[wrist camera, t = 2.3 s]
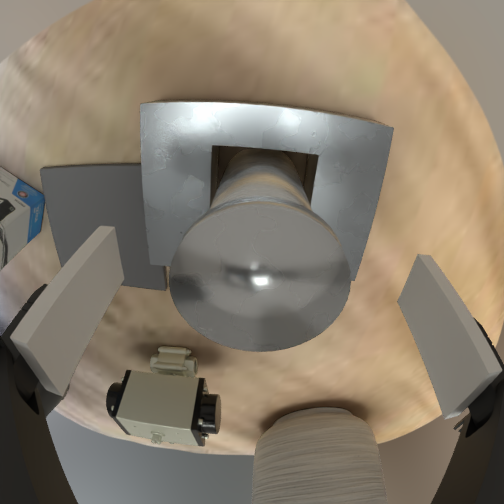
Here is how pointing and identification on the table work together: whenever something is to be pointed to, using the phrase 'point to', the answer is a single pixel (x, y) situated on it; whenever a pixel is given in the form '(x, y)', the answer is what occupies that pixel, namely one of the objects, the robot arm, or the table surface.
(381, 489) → the vase
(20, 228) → the ink box
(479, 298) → the table surface
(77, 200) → the mat
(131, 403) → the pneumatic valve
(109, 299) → the robot arm
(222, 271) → the grey bottle
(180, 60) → the table surface
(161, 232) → the frame
